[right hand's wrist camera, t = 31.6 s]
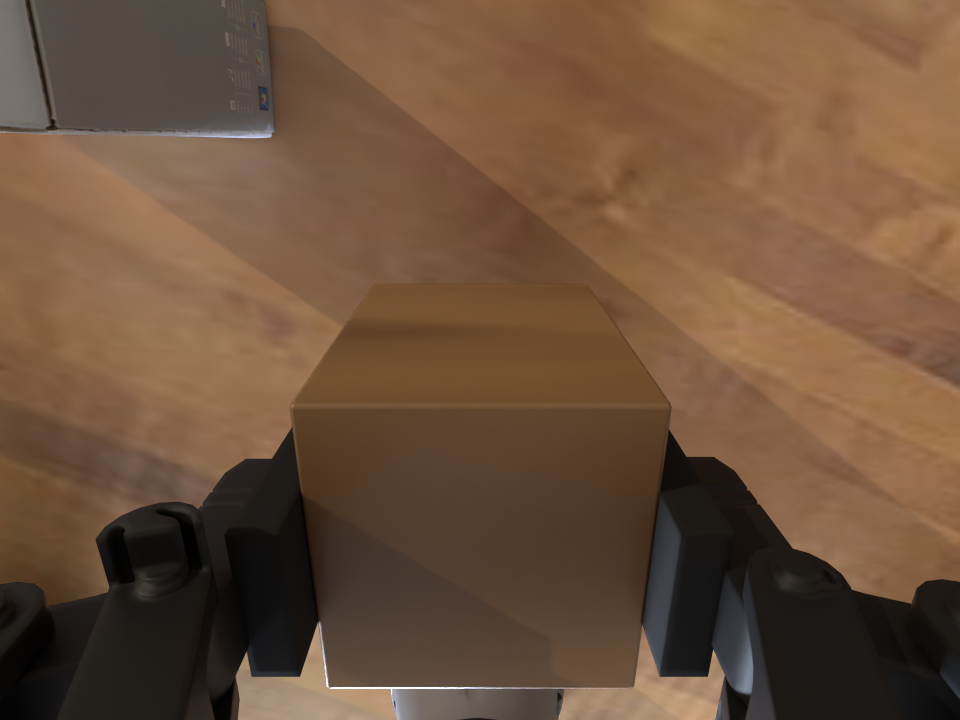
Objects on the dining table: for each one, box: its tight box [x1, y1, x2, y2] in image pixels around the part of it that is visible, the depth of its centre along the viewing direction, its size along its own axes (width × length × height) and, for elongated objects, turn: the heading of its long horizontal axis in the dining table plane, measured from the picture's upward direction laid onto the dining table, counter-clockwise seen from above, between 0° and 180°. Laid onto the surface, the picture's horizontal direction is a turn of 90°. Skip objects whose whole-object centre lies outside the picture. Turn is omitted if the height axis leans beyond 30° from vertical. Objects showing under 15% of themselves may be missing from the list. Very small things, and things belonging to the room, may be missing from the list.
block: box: [290, 284, 672, 689], centre depth 13 cm, size 6×6×7 cm
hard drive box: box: [0, 0, 274, 138], centre depth 25 cm, size 16×8×20 cm, turn 87°
